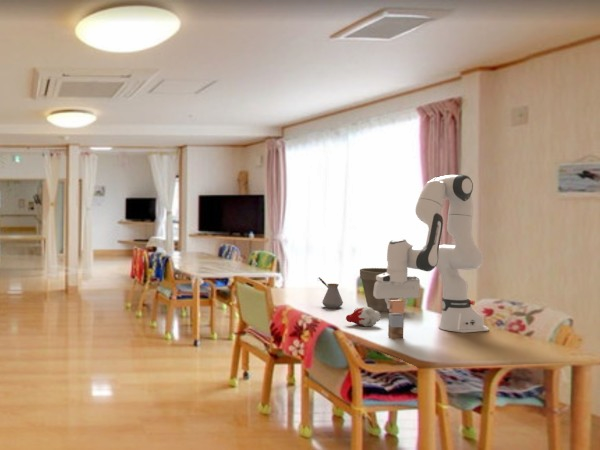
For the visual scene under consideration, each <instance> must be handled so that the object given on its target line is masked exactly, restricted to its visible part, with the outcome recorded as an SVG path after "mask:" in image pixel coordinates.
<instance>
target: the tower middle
mask: <svg viewBox="0 0 600 450" xmlns="http://www.w3.org/2000/svg"><path fill="white" fill-rule="evenodd" d="M404 320H405V319H404V314H403V313H388V325H389V326H391V327H403V328H405V326H404V325H405V323H404V322H405V321H404Z"/></svg>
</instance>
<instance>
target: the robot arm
mask: <svg viewBox="0 0 600 450" xmlns="http://www.w3.org/2000/svg"><path fill="white" fill-rule="evenodd" d="M473 188H474V183H473V180H472V179H471V178H470V176H468V175H466V174H448V175H442V176H441V175H440V176H436V177H433V178H432V179H430V180H429V181H427V182H426V183H425V185H424V187H423V189H422V191H421V192H420V195H419V197H418V199H417V203H416V205H415V215H416V216H417V218H418V220H419V221H421V222H422V223H424V224H426V225H427V227H428V231H427V236H426V237H427V238H426V243H425V245H424V246H422V247H420V246H414V245H413V244H412V245H411V244H410V243H408V240H407V239H404V238H396V239H391V240H390V241H389V242H388V244H387V249H386V250H387V254H386V261H387V267H386V268H387V272H385V273H382V274H379V275H377V276H376V280H378V281H376V282H375V284H374V291H373V295H374V297H375V298H377V299H385V302H386V303H387V308H388V309H392V305H391V304H389V302H388V301H389V300H390V298H398V299H403V301H404V310H405V309H406V308H407V307H406V306H407V304H408V302H409V299H419V298H420V296H421V295H420V292H421V291H420V279H419V277H417V276H408V268H409V269H413V270H420V271H424V272H431V271H433V270H434V269H435V268H437V270H438V272H439V273H440V276H441V279H442V298H441V310H442V311H441V317H440V323H439V325H438V328H439V329H441V330H443V331H448V332H449V331H450V332H457V333H473V332H474V333H475V332H486V331H487V332H488V331H489V327H488V326H486V325H485V324H484V318H483V316H482V314H480V313H479V312H478V311H476V310H475V309H474V308H473V307H472V306H475V305H476V302H475V300H472V299H471V300H470V299H469V298H468V297H469V296H468V292H469V291H468V288H469V284H468V281H467V280H466V279H465V278H464V277H463V276H462V275H461V274H460V271H459V270H463V271H464V270H465V271H473V270H478V269H479V268H480V267H481V266H482V265H483V262H484V255H483V252H482V250H481V249H480V248H479V247H478V246H477V245H476V243H475V241H474V239H473V233H472V225H473V211H474V209H473V198H472V193H473ZM445 200H448V201H449V206H448V211H447V212H448V213H447V223H446V231H447V233H448V234H449V235H450V236H451V237H452V238H453V239H454V242H455V243H454V245H453V244H440V242H441V239H442V234H443V226H444V219H443V216H442V210H443V209H442V208H443V206H444V202H445Z"/></svg>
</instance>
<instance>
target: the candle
mask: <svg viewBox="0 0 600 450" xmlns="http://www.w3.org/2000/svg"><path fill="white" fill-rule="evenodd" d="M345 320H346V321H347V322H349V323H354V324H355V325H357V326H360V327H361V326H362V327H373V326H375V325H376V324H377V322H379V321H381V311H375V310H373V309H372V308H370V307H368V306H363V307H362V306H361V307H357V308H354V311H353V312H352V313H350V314H347V315H346V317H345Z"/></svg>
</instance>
